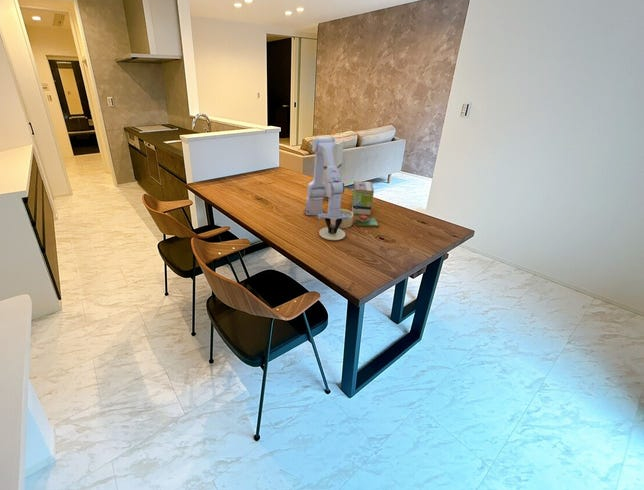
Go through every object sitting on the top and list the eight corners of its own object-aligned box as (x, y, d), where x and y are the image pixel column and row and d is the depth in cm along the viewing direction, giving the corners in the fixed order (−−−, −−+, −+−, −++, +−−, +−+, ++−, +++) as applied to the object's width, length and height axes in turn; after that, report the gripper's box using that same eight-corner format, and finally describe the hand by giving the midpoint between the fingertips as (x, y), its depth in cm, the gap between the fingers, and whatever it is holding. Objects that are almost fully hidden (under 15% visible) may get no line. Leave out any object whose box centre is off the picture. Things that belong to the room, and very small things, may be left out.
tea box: (370, 215, 163) (374, 190, 157) (352, 214, 165) (354, 189, 159) (368, 204, 176) (371, 181, 170) (351, 203, 178) (353, 180, 172)
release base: (357, 226, 151) (358, 221, 150) (355, 219, 158) (356, 214, 157) (378, 227, 150) (379, 222, 149) (374, 220, 158) (375, 215, 156)
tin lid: (323, 242, 137) (324, 234, 135) (315, 230, 148) (316, 222, 146) (349, 240, 139) (350, 231, 137) (339, 227, 150) (340, 220, 148)
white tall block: (333, 201, 182) (338, 143, 168) (317, 198, 187) (320, 142, 172) (338, 195, 191) (343, 140, 177) (323, 192, 196) (326, 138, 181)
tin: (334, 228, 149) (335, 219, 147) (327, 219, 160) (327, 209, 157) (356, 226, 151) (357, 217, 149) (347, 217, 161) (348, 208, 159)
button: (360, 220, 152) (360, 217, 151) (359, 217, 155) (359, 214, 154) (367, 220, 152) (367, 217, 151) (365, 217, 155) (366, 215, 154)
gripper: (319, 209, 134) (317, 235, 140) (351, 210, 133) (348, 236, 139) (318, 203, 141) (316, 228, 146) (349, 204, 139) (346, 229, 145)
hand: (332, 232), depth 143 cm, fingers closed on tin lid, 2 cm apart
